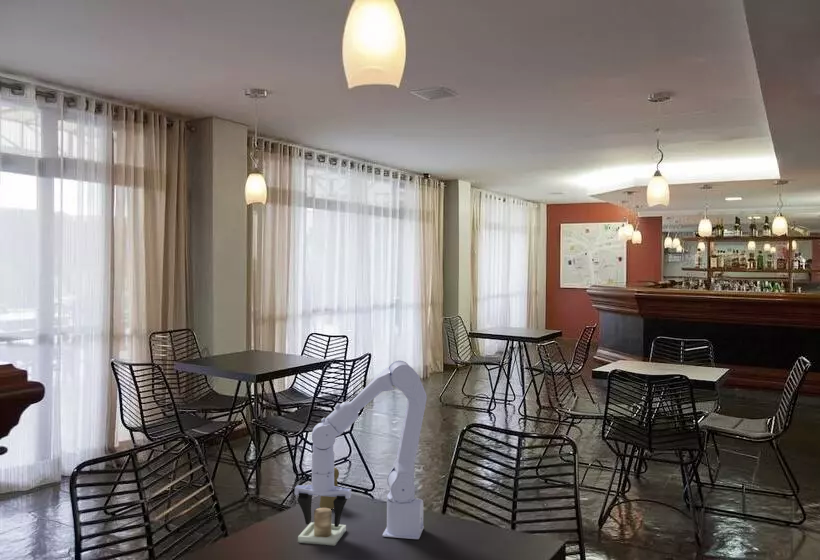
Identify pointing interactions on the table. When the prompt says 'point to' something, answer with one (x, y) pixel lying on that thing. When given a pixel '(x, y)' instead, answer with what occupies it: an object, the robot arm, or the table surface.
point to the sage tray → (309, 537)
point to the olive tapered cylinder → (327, 500)
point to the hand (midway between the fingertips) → (322, 524)
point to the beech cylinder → (322, 522)
